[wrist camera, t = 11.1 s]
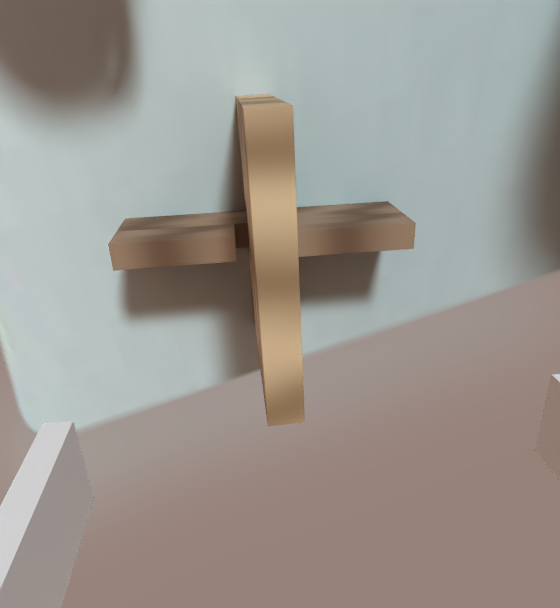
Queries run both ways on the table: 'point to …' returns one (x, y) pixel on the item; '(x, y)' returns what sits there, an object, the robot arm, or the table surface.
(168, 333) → the table surface
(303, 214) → the standing plate
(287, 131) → the cross plate
